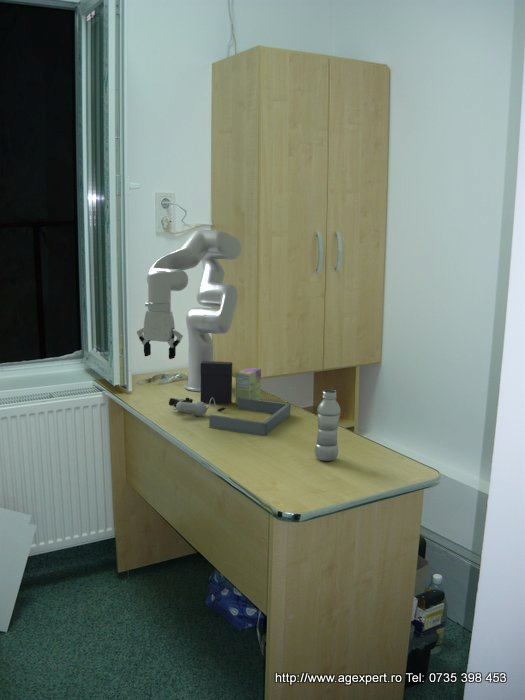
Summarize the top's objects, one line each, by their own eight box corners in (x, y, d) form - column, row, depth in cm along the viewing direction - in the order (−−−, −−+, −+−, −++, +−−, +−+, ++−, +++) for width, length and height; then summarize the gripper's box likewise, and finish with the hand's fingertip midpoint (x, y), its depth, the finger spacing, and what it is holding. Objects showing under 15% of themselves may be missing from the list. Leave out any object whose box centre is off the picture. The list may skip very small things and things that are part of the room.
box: (246, 397, 253) (247, 366, 251) (260, 399, 251) (261, 368, 248) (234, 404, 244) (235, 372, 241) (248, 406, 241) (249, 374, 239)
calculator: (231, 401, 247) (232, 361, 244) (230, 405, 242) (231, 364, 239) (202, 400, 248) (202, 360, 245) (200, 403, 243) (200, 362, 240)
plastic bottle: (310, 457, 193) (313, 389, 189) (331, 454, 196) (334, 387, 192) (320, 465, 187) (324, 395, 183) (342, 462, 190) (346, 393, 186)
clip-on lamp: (215, 415, 241) (166, 408, 233) (218, 397, 240) (170, 390, 233) (226, 421, 230) (176, 414, 222) (230, 403, 230) (180, 395, 222)
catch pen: (238, 408, 239) (238, 397, 238) (290, 415, 232) (290, 403, 232) (209, 427, 217) (209, 415, 216) (265, 436, 210) (265, 423, 209)
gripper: (131, 306, 229) (131, 356, 232) (177, 310, 223) (177, 361, 226) (142, 304, 235) (143, 352, 239) (187, 308, 230) (187, 357, 233)
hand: (159, 356), depth 233 cm, fingers open, 9 cm apart
